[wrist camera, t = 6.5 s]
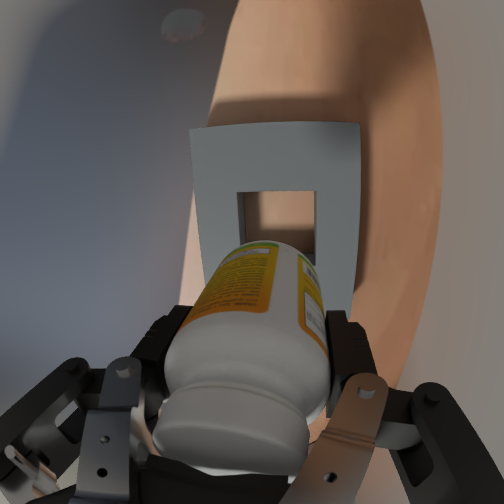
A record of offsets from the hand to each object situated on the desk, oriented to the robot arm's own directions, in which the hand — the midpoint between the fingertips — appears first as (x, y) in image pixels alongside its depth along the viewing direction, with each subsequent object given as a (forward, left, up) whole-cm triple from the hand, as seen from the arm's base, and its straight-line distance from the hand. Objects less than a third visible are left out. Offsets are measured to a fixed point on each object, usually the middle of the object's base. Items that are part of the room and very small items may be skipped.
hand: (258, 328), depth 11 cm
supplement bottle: (0, 0, -4) cm, 4 cm away
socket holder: (0, 0, -17) cm, 17 cm away
